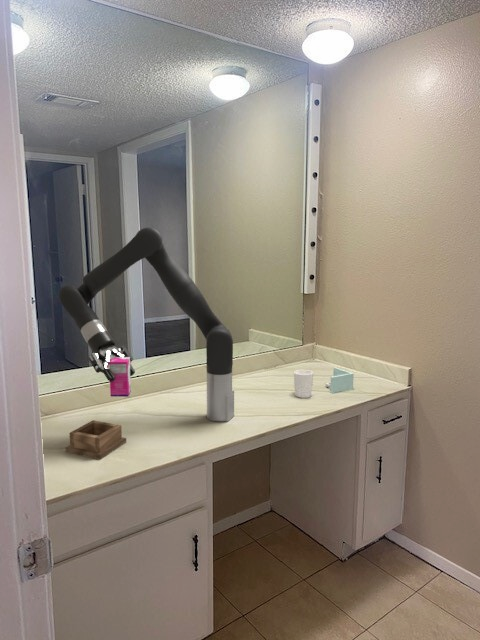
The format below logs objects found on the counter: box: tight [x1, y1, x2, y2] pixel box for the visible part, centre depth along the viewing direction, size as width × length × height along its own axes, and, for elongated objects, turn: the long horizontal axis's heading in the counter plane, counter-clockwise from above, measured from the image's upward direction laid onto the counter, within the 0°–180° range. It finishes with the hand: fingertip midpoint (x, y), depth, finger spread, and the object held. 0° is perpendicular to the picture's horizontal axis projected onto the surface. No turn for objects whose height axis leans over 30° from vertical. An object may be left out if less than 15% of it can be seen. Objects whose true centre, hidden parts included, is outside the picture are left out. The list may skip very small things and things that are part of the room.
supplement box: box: [108, 357, 132, 398], centre depth 154 cm, size 6×6×12 cm
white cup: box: [293, 369, 314, 399], centre depth 202 cm, size 8×8×10 cm
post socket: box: [64, 419, 127, 460], centre depth 151 cm, size 13×13×6 cm
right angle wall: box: [325, 366, 355, 394], centre depth 213 cm, size 12×12×8 cm
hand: (123, 377), depth 154 cm, fingers closed on supplement box, 8 cm apart
